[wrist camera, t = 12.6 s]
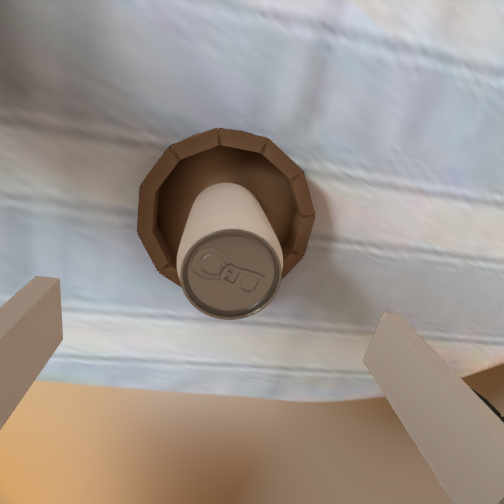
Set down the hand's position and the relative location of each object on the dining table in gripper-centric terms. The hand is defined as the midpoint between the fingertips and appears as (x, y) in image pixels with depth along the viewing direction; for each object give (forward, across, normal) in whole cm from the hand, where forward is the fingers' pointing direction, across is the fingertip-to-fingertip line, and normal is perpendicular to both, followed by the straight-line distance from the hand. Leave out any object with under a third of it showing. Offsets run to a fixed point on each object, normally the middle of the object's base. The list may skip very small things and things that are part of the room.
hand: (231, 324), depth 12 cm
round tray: (+18, +1, 0) cm, 18 cm away
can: (+17, 0, 0) cm, 17 cm away
